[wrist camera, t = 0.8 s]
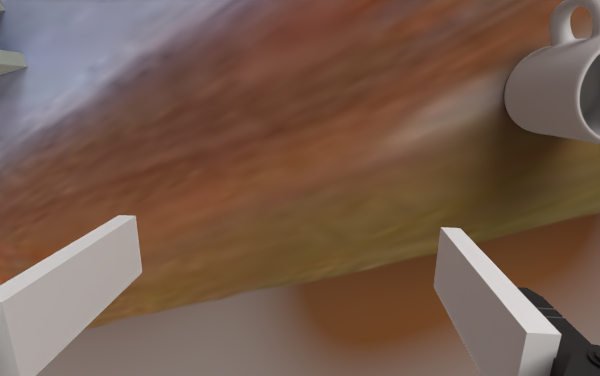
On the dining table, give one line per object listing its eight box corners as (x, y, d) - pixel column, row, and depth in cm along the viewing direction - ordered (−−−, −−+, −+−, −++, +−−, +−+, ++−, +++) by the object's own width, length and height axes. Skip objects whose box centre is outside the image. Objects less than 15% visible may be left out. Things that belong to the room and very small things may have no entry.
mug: (598, 117, 36) (710, 127, 25) (511, 143, 37) (583, 163, 27) (580, -5, 34) (697, -51, 23) (488, 27, 35) (557, -2, 24)
